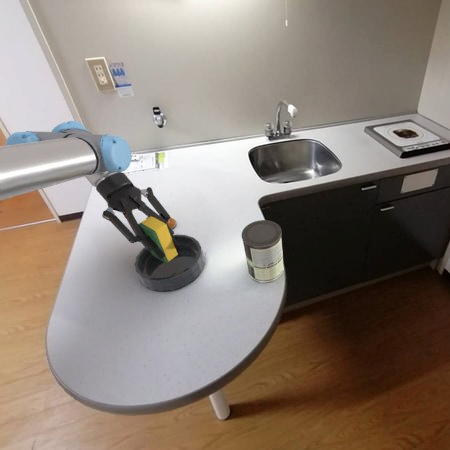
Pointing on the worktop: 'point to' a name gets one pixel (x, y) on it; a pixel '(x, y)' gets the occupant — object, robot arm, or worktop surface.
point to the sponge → (159, 237)
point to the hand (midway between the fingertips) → (170, 251)
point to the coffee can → (263, 250)
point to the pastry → (170, 222)
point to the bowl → (171, 266)
